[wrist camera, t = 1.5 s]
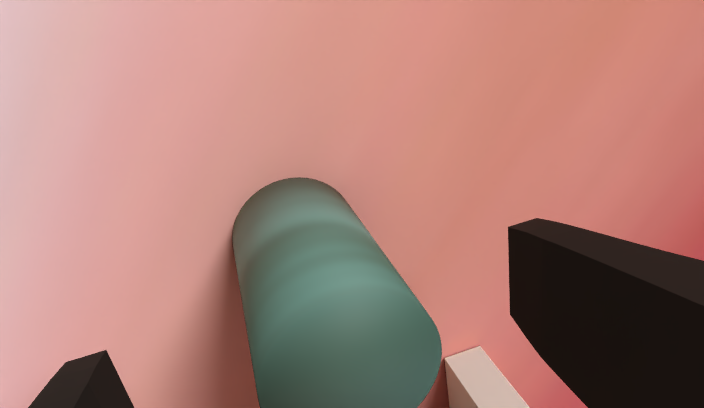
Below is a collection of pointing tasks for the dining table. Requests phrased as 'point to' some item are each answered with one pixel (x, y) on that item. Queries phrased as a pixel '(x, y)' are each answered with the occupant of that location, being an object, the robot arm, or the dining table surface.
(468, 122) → the dining table surface
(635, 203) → the dining table surface
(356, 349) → the green and brown toy
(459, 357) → the cubby lanes
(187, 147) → the dining table surface
